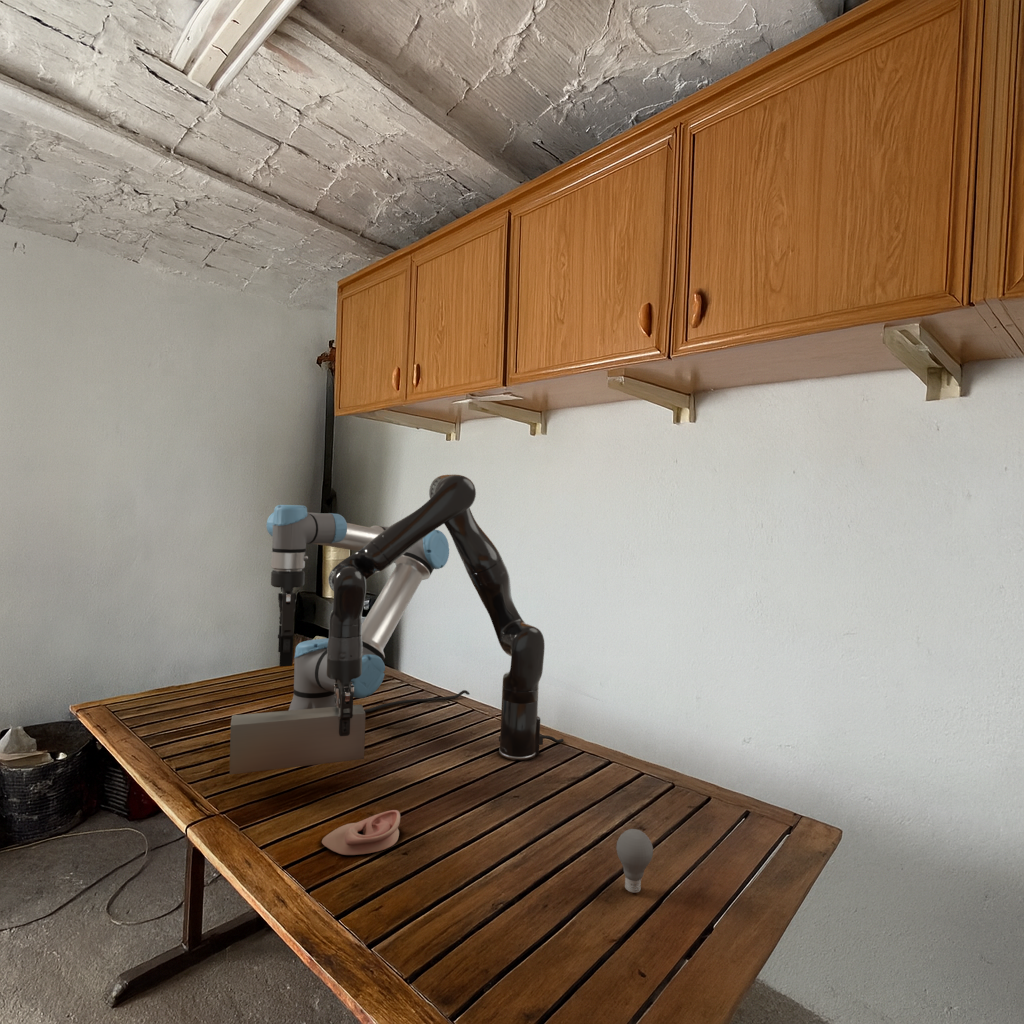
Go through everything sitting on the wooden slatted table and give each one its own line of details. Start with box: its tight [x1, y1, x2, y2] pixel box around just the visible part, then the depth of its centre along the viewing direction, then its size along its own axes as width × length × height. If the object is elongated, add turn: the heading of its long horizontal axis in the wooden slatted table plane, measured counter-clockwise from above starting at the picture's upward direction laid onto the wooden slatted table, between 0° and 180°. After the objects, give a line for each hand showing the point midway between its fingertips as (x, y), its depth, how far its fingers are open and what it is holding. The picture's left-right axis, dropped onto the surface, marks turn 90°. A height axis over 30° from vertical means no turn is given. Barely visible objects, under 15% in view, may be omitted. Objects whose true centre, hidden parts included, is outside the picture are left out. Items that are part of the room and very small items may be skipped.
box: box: [228, 704, 366, 776], centre depth 137 cm, size 27×6×10 cm, turn 111°
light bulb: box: [615, 828, 654, 894], centre depth 106 cm, size 6×6×10 cm
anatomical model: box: [321, 809, 401, 856], centre depth 118 cm, size 13×4×12 cm
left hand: (284, 658), depth 151 cm, fingers open, 13 cm apart
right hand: (342, 729), depth 140 cm, fingers closed on box, 6 cm apart
